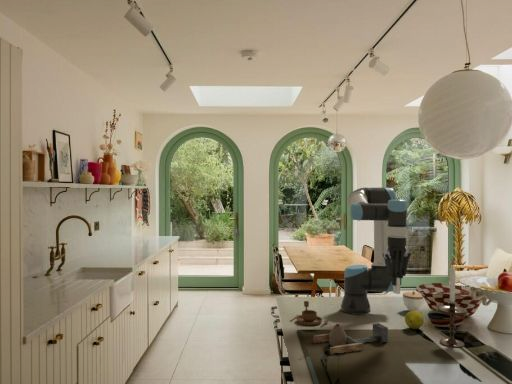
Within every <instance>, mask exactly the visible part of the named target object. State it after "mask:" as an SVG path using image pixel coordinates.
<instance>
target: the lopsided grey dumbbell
mask: <svg viewBox="0 0 512 384" xmlns="http://www.w3.org/2000/svg"><path fill="white" fill-rule="evenodd" d="M388 334H389V327H388V326H385V325H383V324H382V323H378V322H377V323H372V336H367V337H359V338H352V337H351V336H350V335H348V334H346V337H347V341H346V344H354V343H361V342H362V343H363V344H367V343H366V342H370V343H374V342H373V341H377V342H379V341H380V342H386V343H388V342H389V335H388ZM380 342H379V343H380Z"/></svg>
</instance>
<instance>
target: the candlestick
mask: <svg viewBox="0 0 512 384" xmlns="http://www.w3.org/2000/svg"><path fill="white" fill-rule="evenodd" d="M454 264H455V261H454V258H451V268H450V269H449V300H448V301H446V303H448V304H447V305H445V304H444V305H439V306H437V311H438V312H439V313H441V314H443V315H448V316H450V317H449V319H450V322H449V324H448V326H447V327H448V328H449V330H448V333H449V337H448V338H445V337H444V338H440V339H439V344H440V345H442V346H445V347H447V348H453V349H455V348H456V349H460V348H464V347H465V343H464V342H463V341H461V340H460V339H455V334H456V331H455V329H456V328H457V327H456V324H455V317H456V316H467V315H468V310H467V309H466V308H465V307H461V306H457V304H459V303H458V302H457V301H456V269H455V266H454Z"/></svg>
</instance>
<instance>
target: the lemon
mask: <svg viewBox="0 0 512 384" xmlns="http://www.w3.org/2000/svg"><path fill="white" fill-rule="evenodd" d="M404 321H405V324H406V326H407V327H408V328H409V329H413V330H416V329H417V330H418V329H420V328H422V327H423V325H424V323H425V322H424V321H425V319H424V315H423V314H422V313H421V312H420V311H416V310H412V311H411V310H409V311H408V312H406V315H405V316H404Z"/></svg>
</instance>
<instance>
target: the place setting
mask: <svg viewBox="0 0 512 384" xmlns="http://www.w3.org/2000/svg"><path fill="white" fill-rule="evenodd" d="M303 306H304V307H305V309H304V310H303V311H301V315H299V314H296V316H295V317H293V318H292V319H290V320H289V322H292V321H294V320H295V319H296V321H297V323H298V324H301V325H304V326H317V325H320V324H321V323H322V322H323V318H322V317H321V316H319V315H318V312H317V311H315V310H312V309H308V307H309V306H310V302H309V301H308V300H304V301H303ZM325 324H329V321H328V320H325V321H324V322H323V324H322V325H320V328H322V327H323V326H324V325H325Z"/></svg>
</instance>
